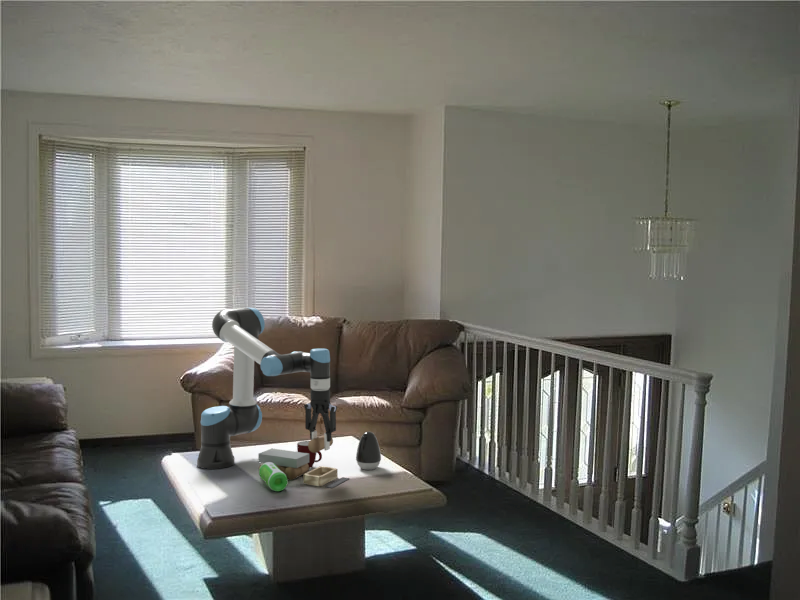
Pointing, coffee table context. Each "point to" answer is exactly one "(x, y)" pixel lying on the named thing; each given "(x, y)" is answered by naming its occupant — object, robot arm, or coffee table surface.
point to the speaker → (273, 476)
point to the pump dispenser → (368, 452)
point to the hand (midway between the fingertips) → (320, 448)
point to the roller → (317, 444)
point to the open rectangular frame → (320, 476)
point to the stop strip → (337, 482)
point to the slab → (284, 458)
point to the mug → (304, 448)
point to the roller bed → (293, 471)
